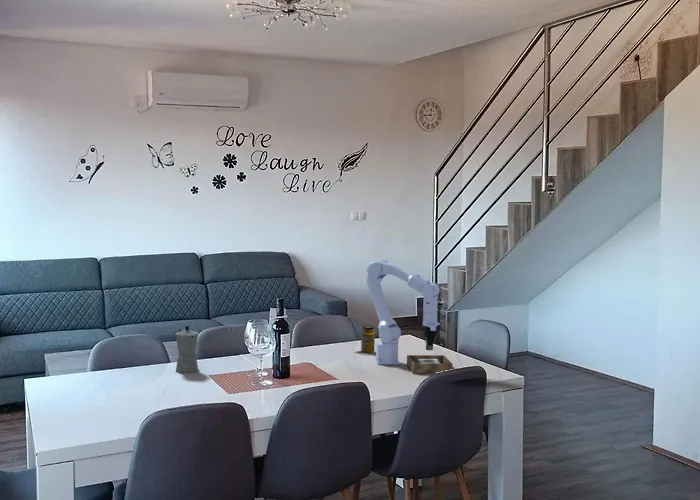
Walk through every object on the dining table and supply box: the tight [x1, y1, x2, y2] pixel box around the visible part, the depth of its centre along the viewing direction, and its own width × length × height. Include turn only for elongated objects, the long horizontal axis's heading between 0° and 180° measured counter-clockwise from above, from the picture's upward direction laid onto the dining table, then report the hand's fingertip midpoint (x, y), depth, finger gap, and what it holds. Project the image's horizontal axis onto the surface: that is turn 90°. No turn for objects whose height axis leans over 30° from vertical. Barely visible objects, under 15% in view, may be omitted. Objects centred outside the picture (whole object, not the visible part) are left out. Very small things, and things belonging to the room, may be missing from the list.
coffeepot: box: [175, 325, 199, 374], centre depth 282 cm, size 15×9×18 cm, turn 33°
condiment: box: [354, 325, 376, 356], centre depth 320 cm, size 7×8×12 cm
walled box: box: [406, 354, 454, 375], centre depth 292 cm, size 16×16×4 cm
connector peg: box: [425, 338, 434, 351], centre depth 292 cm, size 3×3×7 cm
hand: (429, 344), depth 292 cm, fingers closed on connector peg, 3 cm apart
